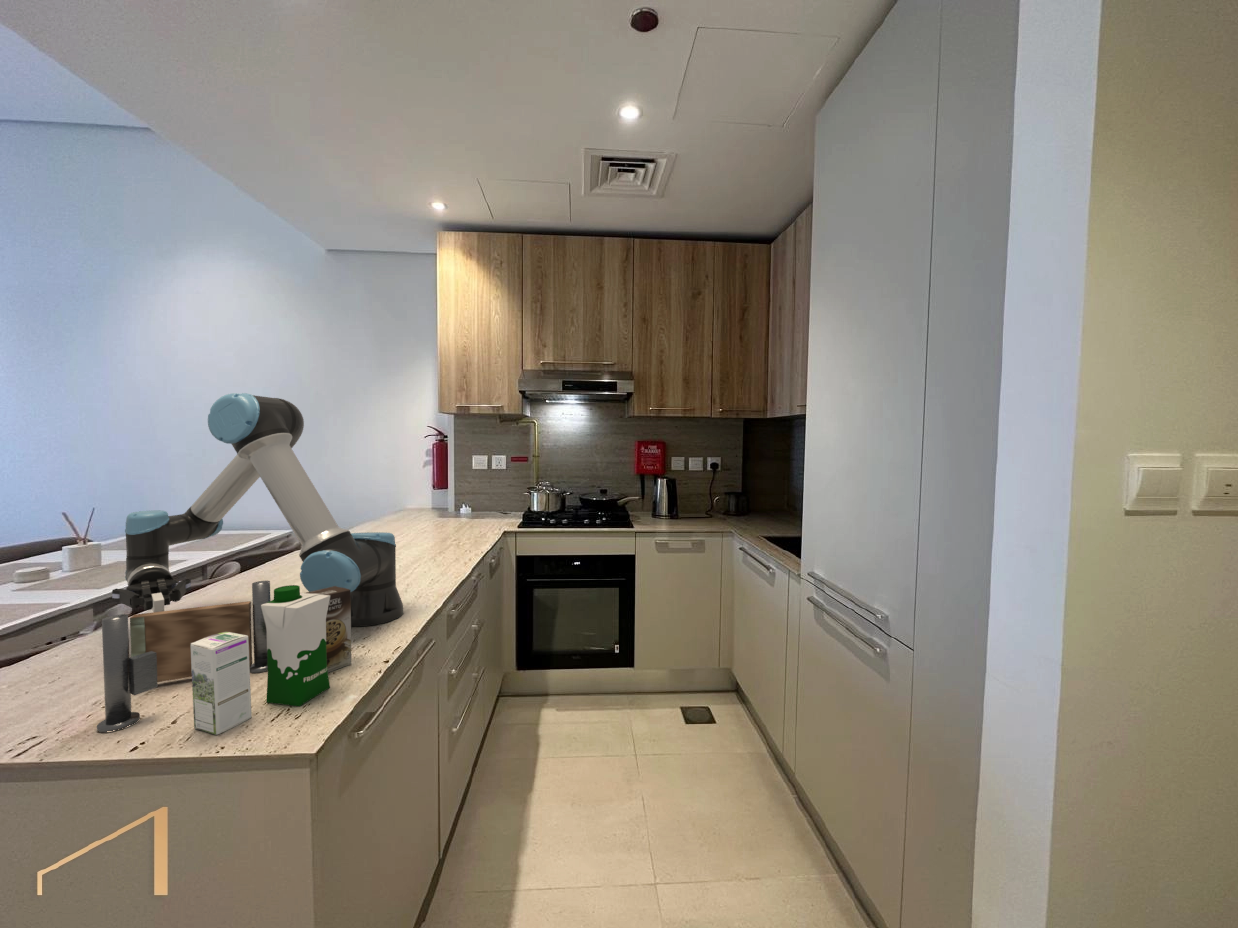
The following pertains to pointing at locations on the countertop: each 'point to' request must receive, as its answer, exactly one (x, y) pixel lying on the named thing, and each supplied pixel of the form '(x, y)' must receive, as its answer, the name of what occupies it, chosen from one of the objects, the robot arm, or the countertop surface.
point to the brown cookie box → (337, 627)
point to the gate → (185, 634)
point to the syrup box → (220, 682)
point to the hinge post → (259, 626)
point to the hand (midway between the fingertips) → (159, 607)
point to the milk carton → (296, 645)
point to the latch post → (123, 674)
